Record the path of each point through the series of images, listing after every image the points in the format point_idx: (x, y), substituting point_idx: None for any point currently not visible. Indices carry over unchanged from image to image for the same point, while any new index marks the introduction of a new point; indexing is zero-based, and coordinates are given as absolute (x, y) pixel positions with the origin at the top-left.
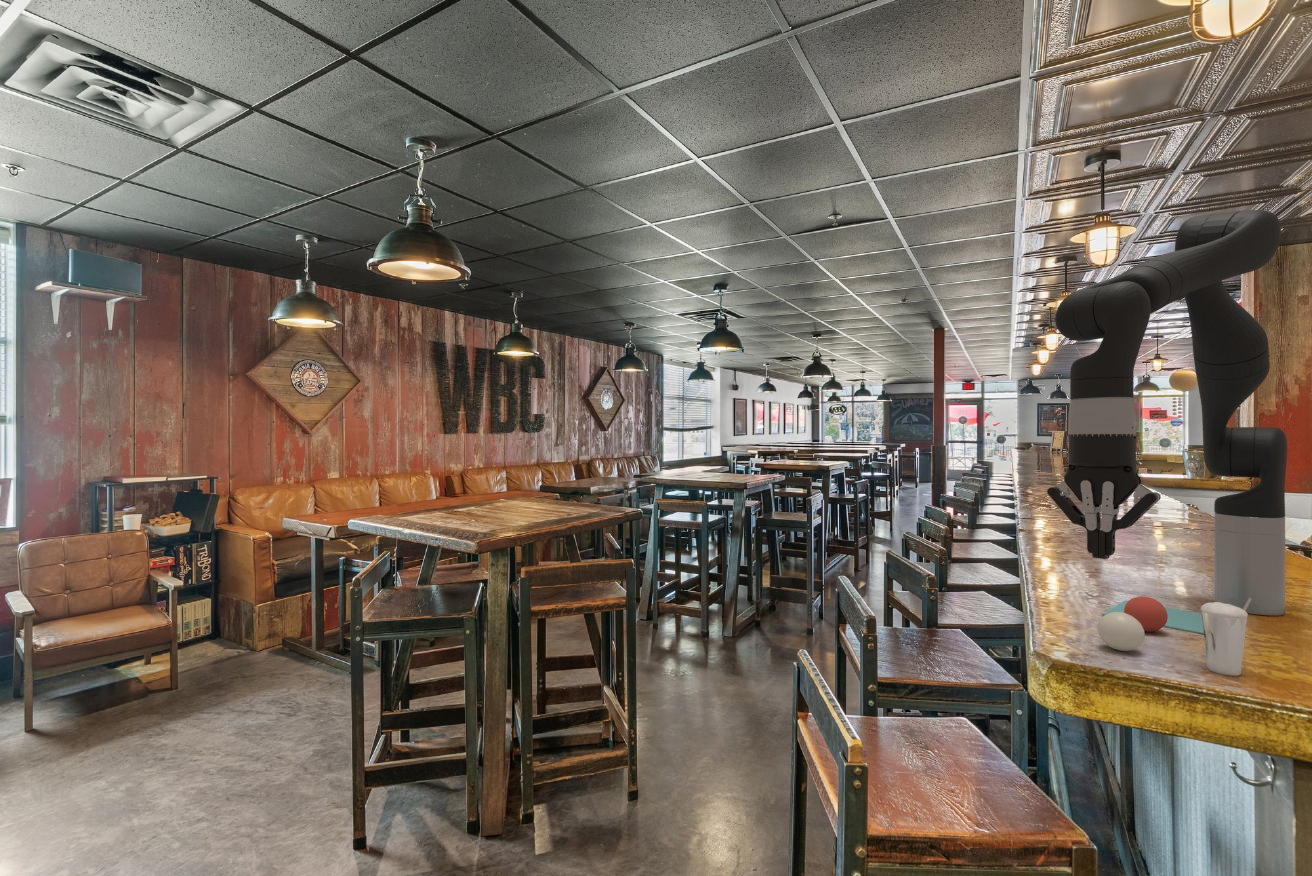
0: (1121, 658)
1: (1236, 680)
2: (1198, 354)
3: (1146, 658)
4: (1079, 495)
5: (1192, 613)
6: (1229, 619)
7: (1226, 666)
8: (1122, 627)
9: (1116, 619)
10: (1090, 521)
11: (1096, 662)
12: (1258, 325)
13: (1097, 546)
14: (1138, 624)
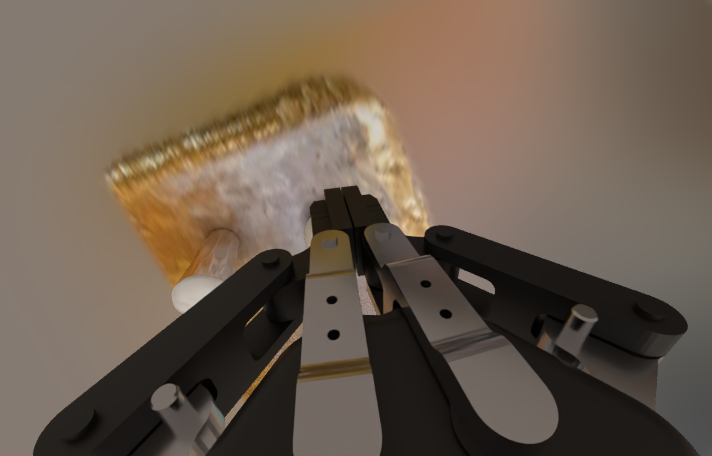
0: (315, 187)
1: (198, 220)
2: None
3: (296, 214)
4: (495, 330)
5: None
6: (185, 276)
7: (211, 235)
8: None
9: None
10: (390, 244)
11: (328, 138)
12: None
13: (347, 199)
14: (310, 243)
